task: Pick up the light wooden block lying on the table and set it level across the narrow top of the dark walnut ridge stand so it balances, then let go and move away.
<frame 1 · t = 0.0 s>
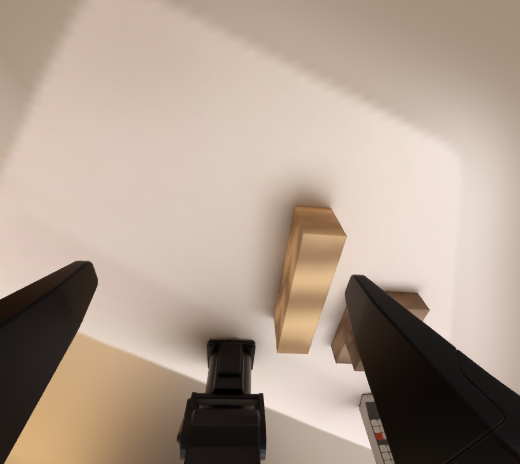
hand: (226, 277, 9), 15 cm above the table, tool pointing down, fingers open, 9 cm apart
vintage mobile phone: (370, 398, 46), on the table
light wooden block: (298, 269, 29), on the table
ridge stand: (370, 321, 34), on the table
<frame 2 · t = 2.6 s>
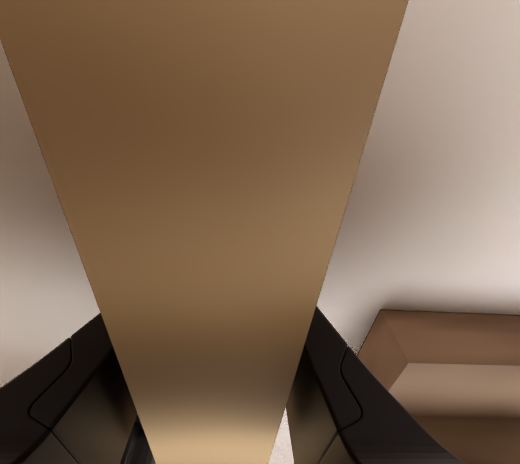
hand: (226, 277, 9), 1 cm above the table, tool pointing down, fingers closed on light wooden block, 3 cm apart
light wooden block: (228, 257, 10), on the table, touching gripper
ridge stand: (414, 376, 15), on the table
when the fingers open (8 cm above the table, at t = 6.7 s): light wooden block stays where it is, resting on ridge stand.
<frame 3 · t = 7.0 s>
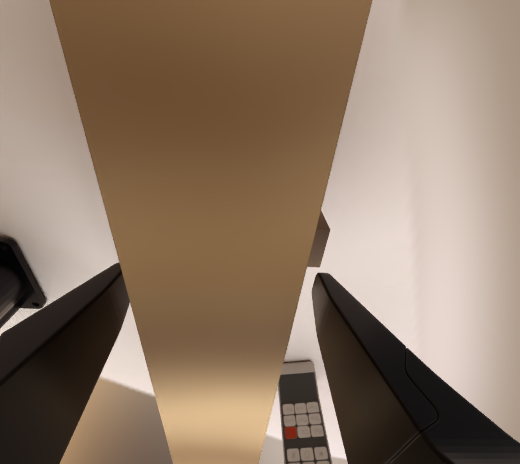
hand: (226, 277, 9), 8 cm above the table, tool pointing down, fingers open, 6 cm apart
vintage mobile phone: (294, 371, 28), on the table
light wooden block: (230, 242, 11), point 6 cm above the table, touching ridge stand
ridge stand: (237, 187, 16), on the table
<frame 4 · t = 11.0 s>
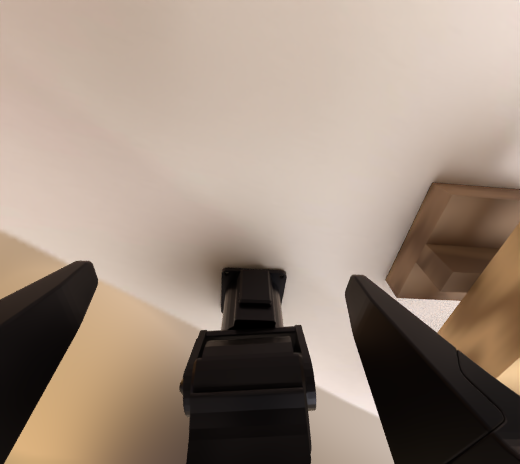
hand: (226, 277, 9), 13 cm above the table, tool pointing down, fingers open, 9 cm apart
light wooden block: (496, 283, 20), point 6 cm above the table, touching ridge stand
ridge stand: (446, 239, 25), on the table
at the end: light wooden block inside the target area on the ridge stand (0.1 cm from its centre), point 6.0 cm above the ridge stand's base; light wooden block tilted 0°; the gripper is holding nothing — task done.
